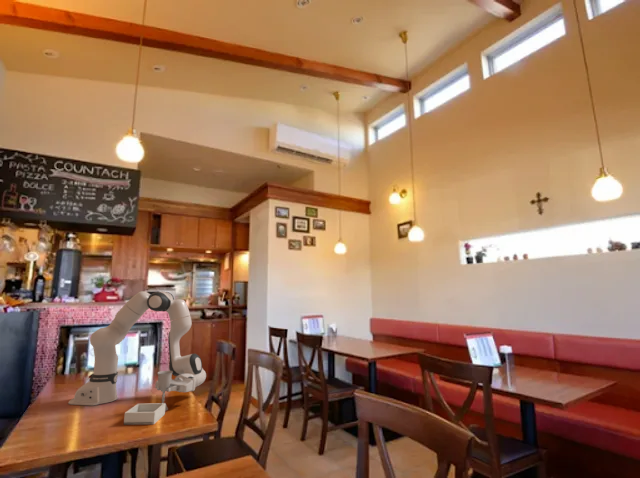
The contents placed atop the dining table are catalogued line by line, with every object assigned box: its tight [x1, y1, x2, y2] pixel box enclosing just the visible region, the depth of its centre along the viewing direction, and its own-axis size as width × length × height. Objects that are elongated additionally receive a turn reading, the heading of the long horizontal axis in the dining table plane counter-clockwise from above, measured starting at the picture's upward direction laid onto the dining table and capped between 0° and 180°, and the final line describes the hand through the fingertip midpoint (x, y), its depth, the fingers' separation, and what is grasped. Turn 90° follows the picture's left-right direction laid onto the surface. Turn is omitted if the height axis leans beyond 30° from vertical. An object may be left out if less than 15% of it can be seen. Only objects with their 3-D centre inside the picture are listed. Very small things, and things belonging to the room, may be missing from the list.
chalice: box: [157, 370, 173, 412], centre depth 174 cm, size 7×7×18 cm
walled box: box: [123, 402, 167, 426], centre depth 160 cm, size 13×13×5 cm
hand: (162, 389), depth 174 cm, fingers closed on chalice, 5 cm apart
